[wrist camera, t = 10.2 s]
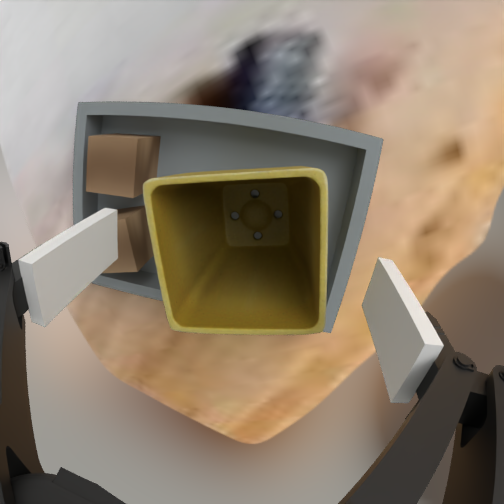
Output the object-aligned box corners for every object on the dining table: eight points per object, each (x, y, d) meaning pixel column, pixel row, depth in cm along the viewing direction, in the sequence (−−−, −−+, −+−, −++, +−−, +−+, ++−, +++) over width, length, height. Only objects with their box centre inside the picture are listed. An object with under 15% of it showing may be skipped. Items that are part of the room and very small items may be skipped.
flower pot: (204, 269, 26) (168, 333, 17) (191, 161, 23) (139, 180, 14) (314, 266, 25) (325, 335, 16) (312, 153, 22) (328, 167, 13)
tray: (98, 103, 22) (78, 102, 19) (371, 137, 21) (383, 139, 18) (94, 265, 28) (77, 279, 25) (327, 312, 27) (330, 332, 24)
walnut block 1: (116, 133, 22) (88, 136, 19) (160, 136, 22) (137, 138, 18) (112, 181, 24) (86, 191, 20) (155, 186, 24) (133, 198, 20)
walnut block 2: (107, 210, 25) (81, 224, 21) (148, 205, 24) (125, 218, 21) (117, 254, 26) (94, 273, 23) (157, 251, 26) (137, 271, 22)
